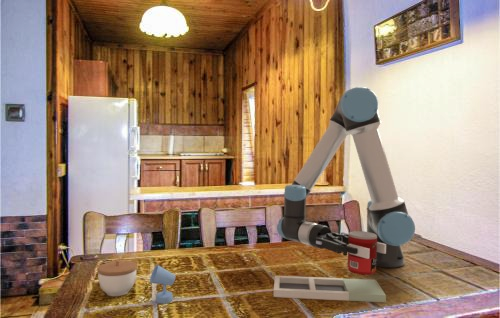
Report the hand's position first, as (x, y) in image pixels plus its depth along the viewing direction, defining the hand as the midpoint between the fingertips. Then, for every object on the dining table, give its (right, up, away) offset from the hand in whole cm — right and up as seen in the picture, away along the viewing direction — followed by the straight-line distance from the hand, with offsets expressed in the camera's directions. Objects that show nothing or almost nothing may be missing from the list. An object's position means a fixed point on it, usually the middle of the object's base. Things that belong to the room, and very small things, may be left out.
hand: (377, 251), depth 104 cm
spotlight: (-60, -13, -2) cm, 62 cm away
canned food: (-3, -7, +4) cm, 9 cm away
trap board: (-13, -13, +5) cm, 19 cm away
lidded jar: (-75, -13, +4) cm, 76 cm away
